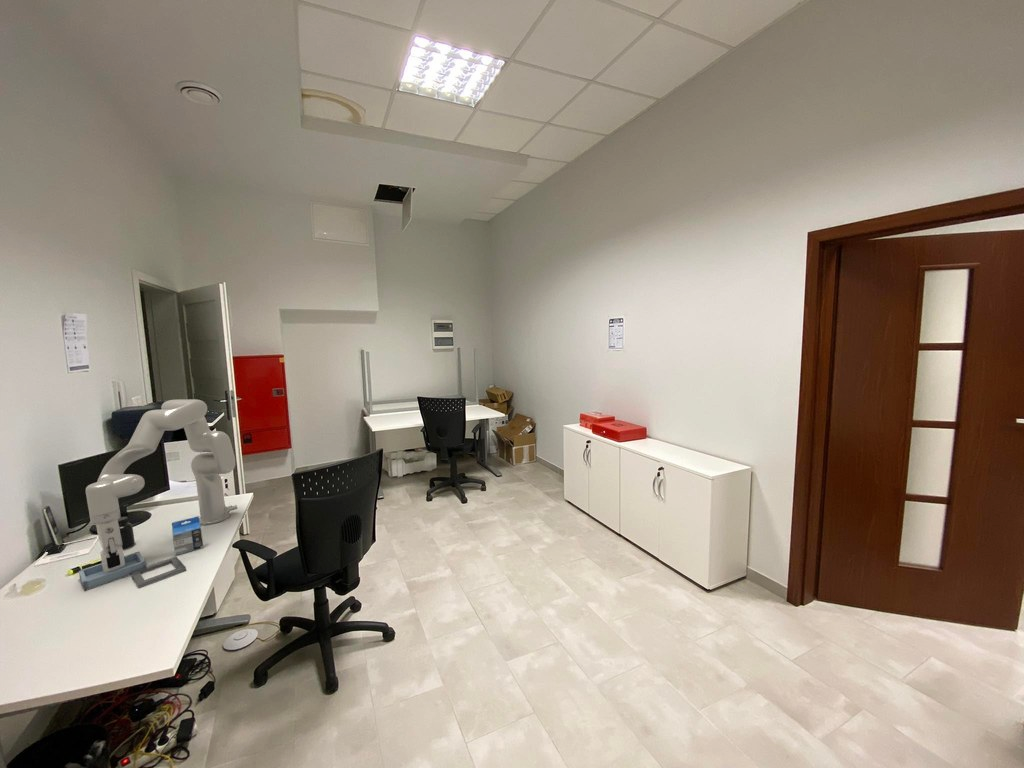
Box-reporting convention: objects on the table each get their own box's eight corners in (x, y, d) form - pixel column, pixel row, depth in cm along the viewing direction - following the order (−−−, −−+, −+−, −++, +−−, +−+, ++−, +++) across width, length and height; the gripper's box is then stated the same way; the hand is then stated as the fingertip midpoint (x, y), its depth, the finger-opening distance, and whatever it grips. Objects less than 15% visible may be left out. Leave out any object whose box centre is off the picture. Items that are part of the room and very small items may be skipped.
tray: (139, 558, 157) (138, 551, 157) (146, 569, 150) (145, 561, 149) (79, 578, 145) (78, 570, 144) (84, 591, 137) (83, 582, 137)
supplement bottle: (139, 543, 170) (135, 515, 168) (122, 551, 163) (118, 523, 162) (125, 542, 170) (120, 515, 169) (107, 551, 164) (102, 522, 162)
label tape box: (175, 556, 158) (171, 525, 157) (175, 552, 161) (171, 522, 160) (203, 548, 164) (199, 518, 162) (202, 544, 167) (199, 515, 166)
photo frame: (34, 565, 154) (50, 545, 168) (34, 567, 154) (51, 548, 168) (88, 552, 162) (100, 535, 176) (88, 555, 162) (100, 537, 177)
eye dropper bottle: (123, 568, 147) (118, 537, 146) (102, 574, 144) (96, 542, 142) (126, 563, 151) (121, 532, 149) (105, 569, 147) (100, 537, 146)
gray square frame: (176, 559, 156) (176, 556, 156) (186, 570, 148) (185, 567, 148) (130, 575, 146) (130, 572, 146) (138, 588, 138) (138, 585, 138)
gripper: (124, 518, 142) (131, 567, 145) (115, 507, 153) (123, 553, 155) (93, 526, 137) (102, 577, 139) (87, 514, 147) (95, 562, 149)
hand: (113, 564), depth 147 cm, fingers closed on eye dropper bottle, 3 cm apart
